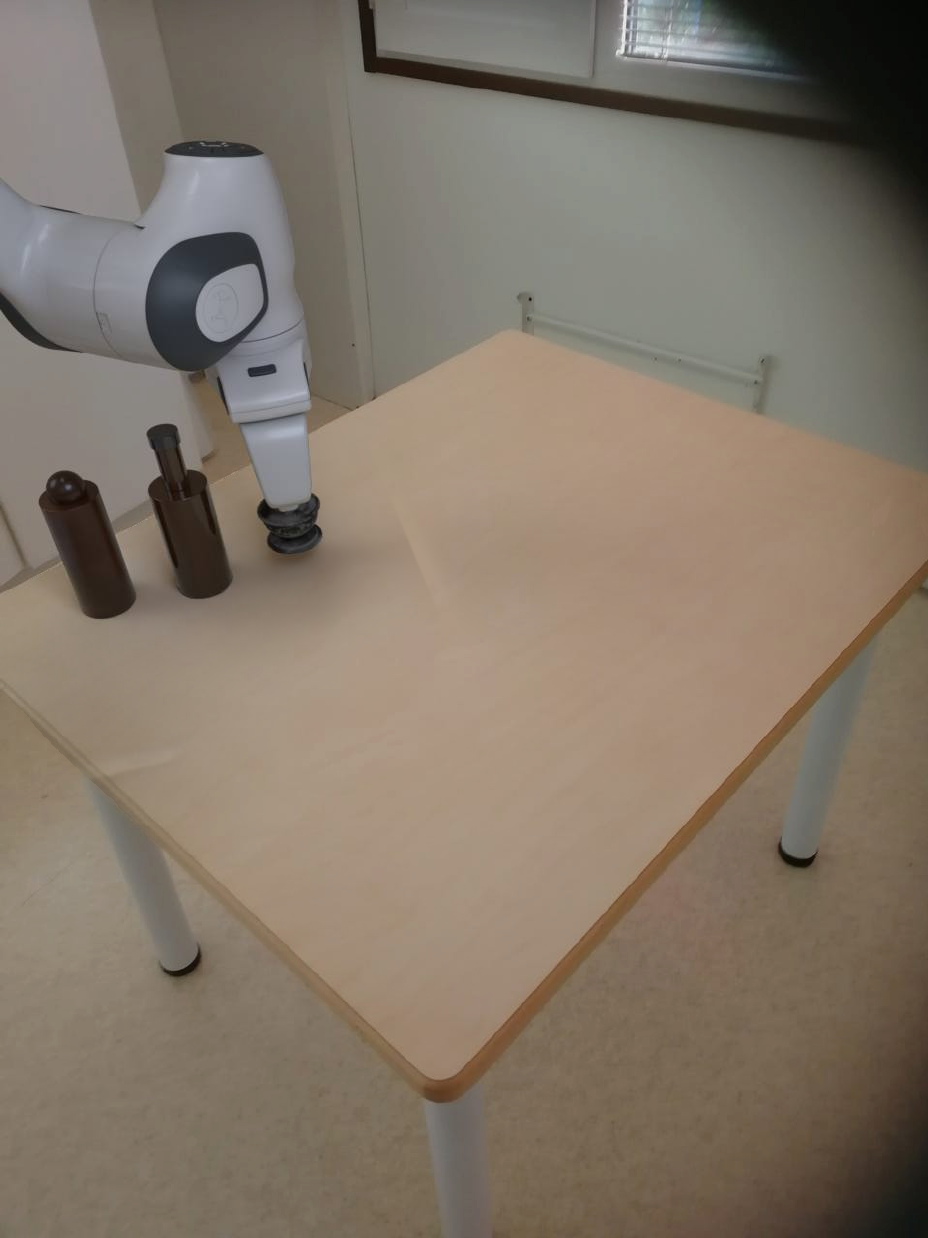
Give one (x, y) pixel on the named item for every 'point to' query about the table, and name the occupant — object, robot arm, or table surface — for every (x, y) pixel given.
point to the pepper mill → (87, 545)
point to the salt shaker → (292, 526)
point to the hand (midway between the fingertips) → (284, 493)
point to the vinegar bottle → (187, 519)
